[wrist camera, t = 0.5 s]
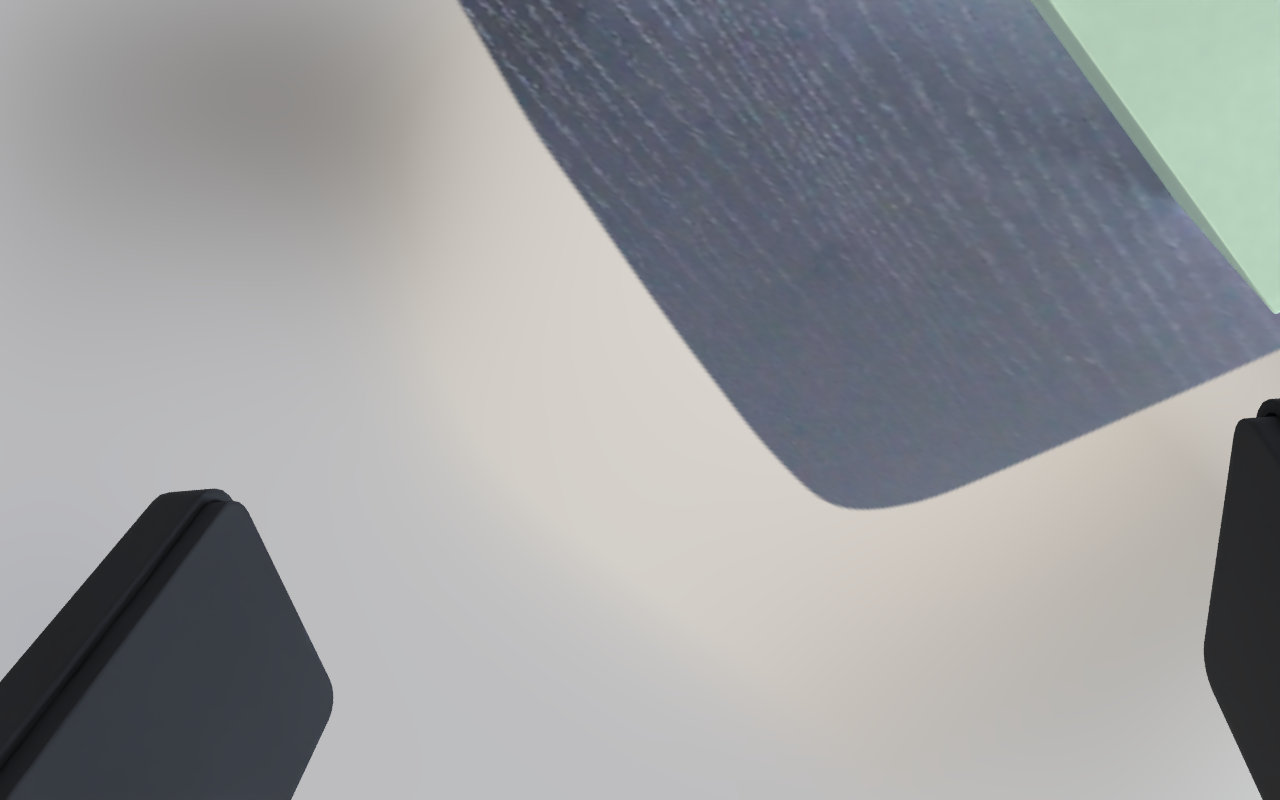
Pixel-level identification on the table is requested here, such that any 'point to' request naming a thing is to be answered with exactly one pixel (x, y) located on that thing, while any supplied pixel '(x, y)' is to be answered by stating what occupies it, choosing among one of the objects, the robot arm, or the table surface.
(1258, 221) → the lid
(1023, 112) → the table surface
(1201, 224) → the green hinged box
